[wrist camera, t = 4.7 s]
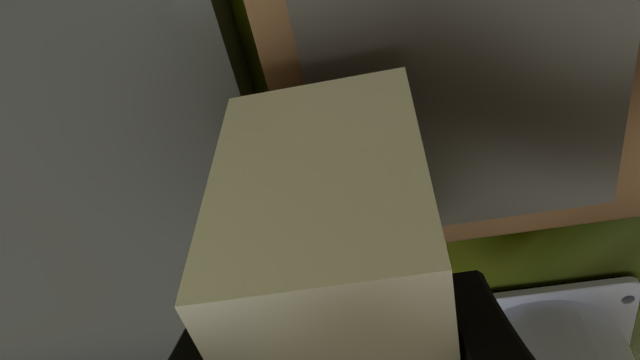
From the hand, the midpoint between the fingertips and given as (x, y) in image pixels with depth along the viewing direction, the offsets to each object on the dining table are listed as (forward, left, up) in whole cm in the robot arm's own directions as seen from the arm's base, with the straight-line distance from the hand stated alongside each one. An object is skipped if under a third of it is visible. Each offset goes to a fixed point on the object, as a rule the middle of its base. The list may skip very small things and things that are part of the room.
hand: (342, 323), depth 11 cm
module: (0, 0, -4) cm, 4 cm away
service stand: (+1, -4, -9) cm, 10 cm away
